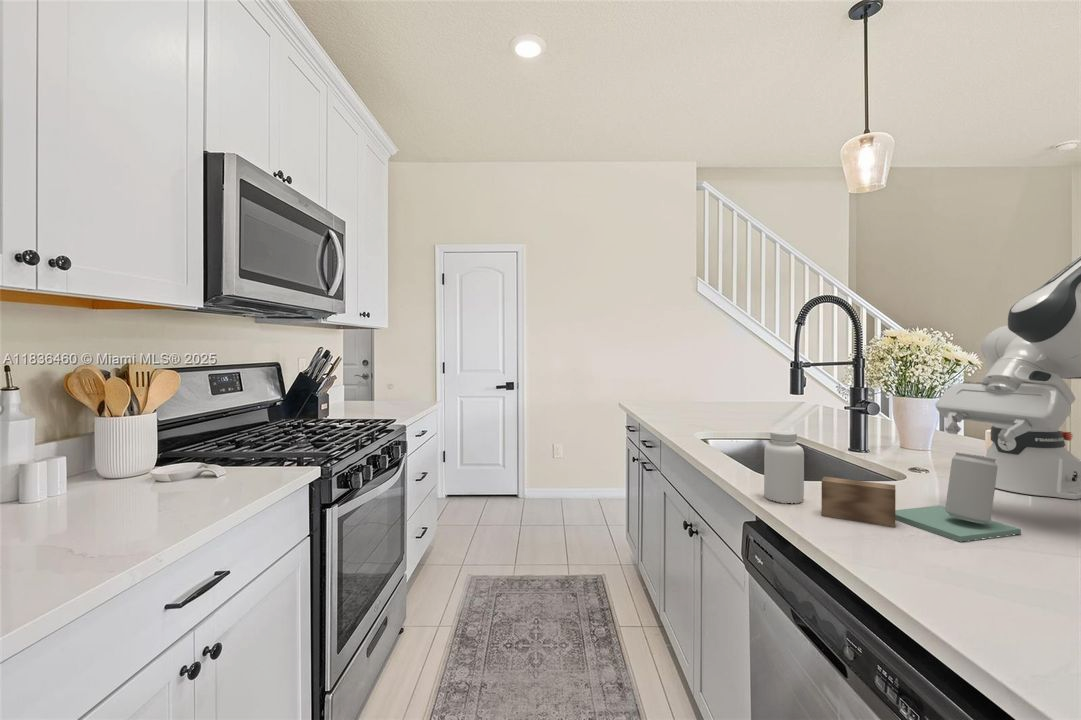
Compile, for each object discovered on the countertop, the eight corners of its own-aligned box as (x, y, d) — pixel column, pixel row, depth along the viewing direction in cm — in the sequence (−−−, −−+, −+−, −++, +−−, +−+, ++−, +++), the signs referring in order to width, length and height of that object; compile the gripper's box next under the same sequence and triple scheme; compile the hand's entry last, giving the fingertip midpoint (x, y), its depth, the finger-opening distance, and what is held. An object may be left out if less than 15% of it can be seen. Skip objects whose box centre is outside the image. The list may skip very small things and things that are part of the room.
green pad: (940, 510, 101) (940, 505, 101) (1021, 534, 87) (1021, 528, 87) (885, 516, 98) (885, 511, 98) (960, 542, 84) (960, 536, 84)
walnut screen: (821, 515, 98) (821, 480, 98) (823, 510, 102) (823, 476, 102) (895, 527, 91) (895, 489, 91) (895, 521, 95) (895, 485, 95)
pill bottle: (768, 503, 107) (768, 434, 106) (761, 493, 114) (760, 428, 114) (808, 505, 105) (808, 435, 105) (798, 495, 113) (798, 429, 112)
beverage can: (974, 520, 93) (983, 457, 94) (999, 528, 87) (1008, 460, 87) (936, 512, 94) (945, 450, 95) (958, 519, 88) (967, 452, 89)
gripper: (949, 371, 107) (914, 417, 105) (1070, 375, 88) (1029, 433, 85) (965, 391, 109) (930, 437, 106) (1087, 399, 89) (1048, 457, 87)
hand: (975, 435), depth 96 cm, fingers open, 8 cm apart
